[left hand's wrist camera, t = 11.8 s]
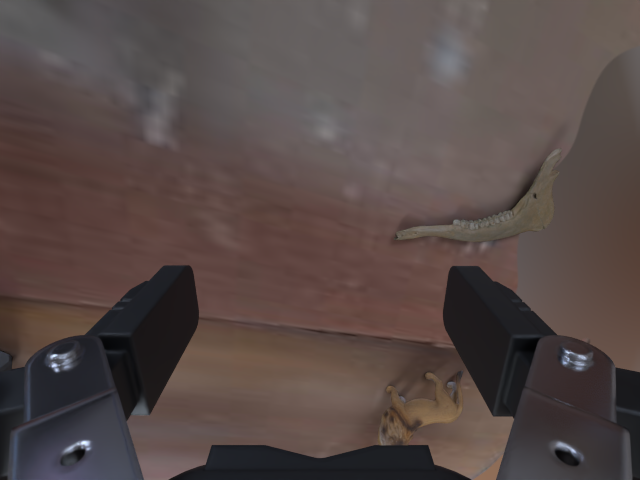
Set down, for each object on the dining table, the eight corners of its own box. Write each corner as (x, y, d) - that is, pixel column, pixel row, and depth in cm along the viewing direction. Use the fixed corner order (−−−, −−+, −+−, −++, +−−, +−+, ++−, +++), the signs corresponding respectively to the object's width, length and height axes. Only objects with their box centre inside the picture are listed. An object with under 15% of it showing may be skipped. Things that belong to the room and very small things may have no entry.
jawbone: (570, 207, 44) (582, 214, 42) (419, 283, 48) (424, 292, 46) (551, 144, 40) (563, 148, 38) (390, 232, 44) (393, 239, 42)
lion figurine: (380, 417, 56) (391, 473, 47) (364, 395, 54) (372, 449, 46) (467, 379, 53) (495, 432, 44) (453, 354, 51) (479, 404, 43)
